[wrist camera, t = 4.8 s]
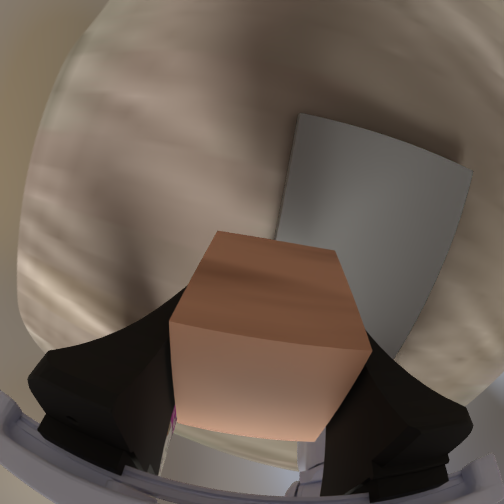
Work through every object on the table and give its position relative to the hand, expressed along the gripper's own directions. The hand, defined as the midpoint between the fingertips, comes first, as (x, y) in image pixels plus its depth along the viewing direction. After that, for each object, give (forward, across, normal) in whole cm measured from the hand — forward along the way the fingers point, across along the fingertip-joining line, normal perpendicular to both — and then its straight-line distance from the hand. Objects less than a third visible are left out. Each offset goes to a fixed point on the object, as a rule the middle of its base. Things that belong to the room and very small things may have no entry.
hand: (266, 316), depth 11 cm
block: (+2, 0, 0) cm, 2 cm away
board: (+8, -6, 0) cm, 11 cm away
